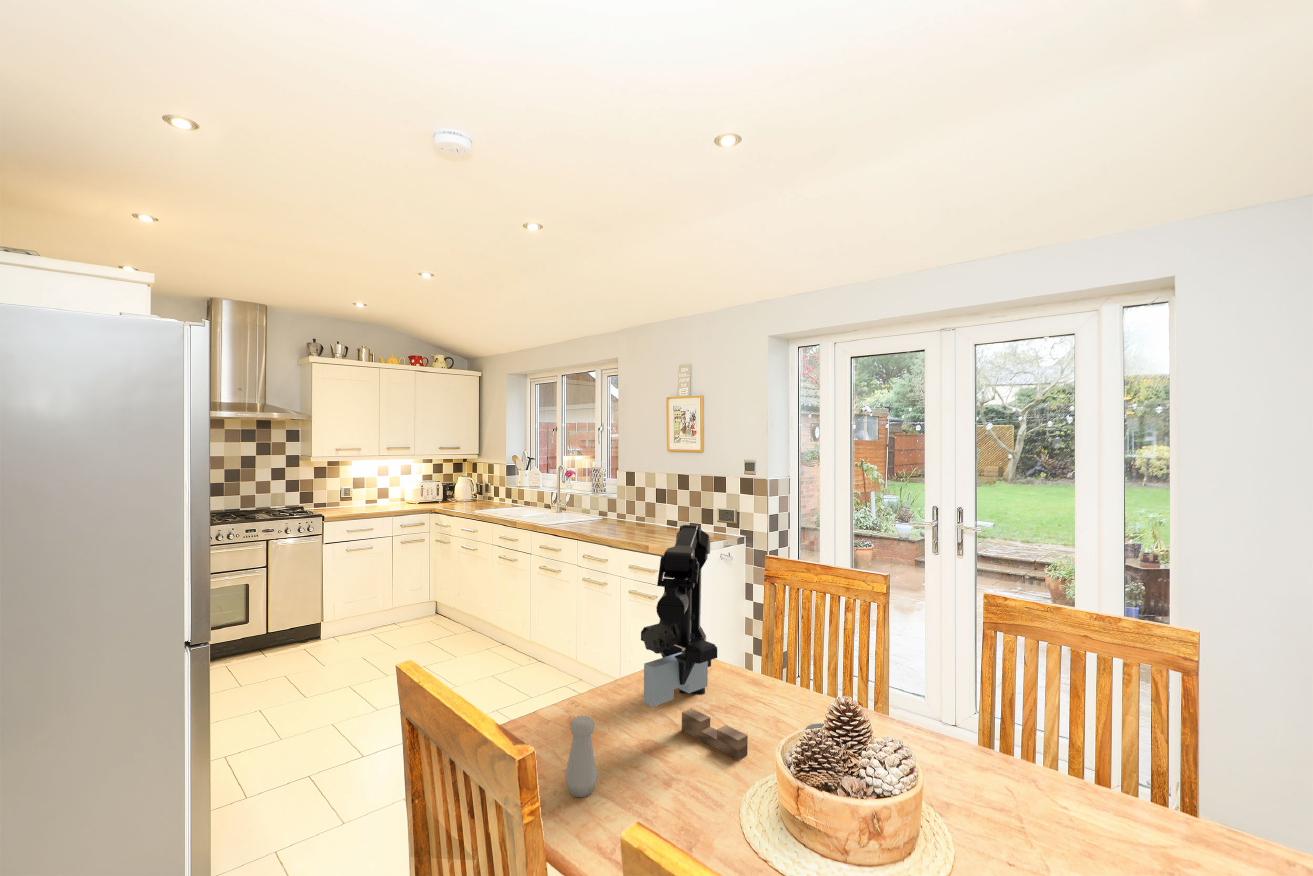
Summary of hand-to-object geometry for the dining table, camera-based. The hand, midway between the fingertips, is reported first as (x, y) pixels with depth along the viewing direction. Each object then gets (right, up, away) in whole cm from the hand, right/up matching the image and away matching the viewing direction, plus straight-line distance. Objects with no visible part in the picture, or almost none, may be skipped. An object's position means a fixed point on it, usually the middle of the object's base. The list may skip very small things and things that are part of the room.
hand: (677, 682), depth 125 cm
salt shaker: (-18, -12, -20) cm, 29 cm away
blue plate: (0, -3, 0) cm, 3 cm away
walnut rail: (+8, -12, -2) cm, 14 cm away
